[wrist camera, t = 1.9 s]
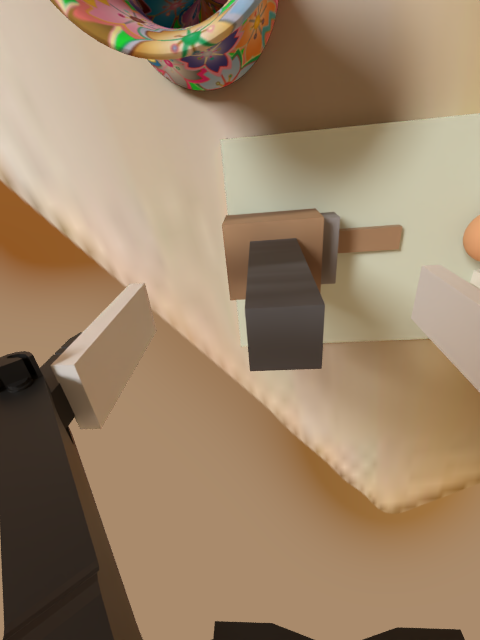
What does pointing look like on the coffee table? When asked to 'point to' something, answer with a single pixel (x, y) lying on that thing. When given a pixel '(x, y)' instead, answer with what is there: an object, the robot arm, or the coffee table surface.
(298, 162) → the pitch
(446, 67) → the coffee table surface
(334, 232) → the kicker
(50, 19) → the coffee table surface
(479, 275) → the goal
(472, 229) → the ball
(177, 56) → the mug
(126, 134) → the coffee table surface
